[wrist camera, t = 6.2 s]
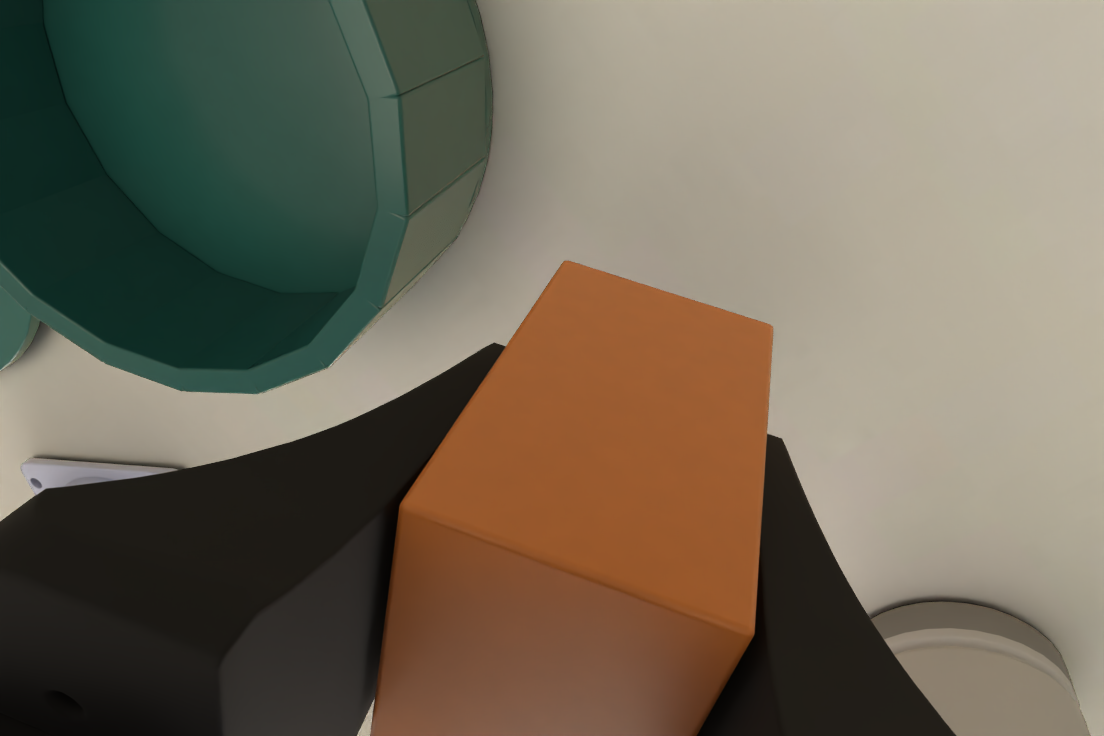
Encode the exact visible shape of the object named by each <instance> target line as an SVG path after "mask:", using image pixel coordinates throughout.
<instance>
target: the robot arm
mask: <svg viewBox="0 0 1104 736" xmlns="http://www.w3.org/2000/svg"><path fill="white" fill-rule="evenodd" d="M505 347H506V346H503V345H500V344H497V343H493V344H491V345H489V346H487V347H485V348H483V349H481V350H480V351H478V352H477V353H475V354H473V355H472V356H470V357H468V358H467V359H465V360H463V361H462V362H460V363H459V364H457V365H455V366H454V367H452V368H450V369H448V370H447V371H445V372H443V373H442V374H440V375H438V376H437V377H435V378H433V379H431V380H429V381H427V382H426V383H424V384H422V385H420V386H418V387H417V388H415V389H413V390H411V391H409V392H408V393H406V394H404V395H402V396H400V397H398V398H396V399H394V400H392V401H390V402H388V403H386V404H384V405H381V406H379V407H377V408H375V409H373V410H371V411H369V412H367V413H365V414H363V415H361V416H358V417H356V418H354V419H352V420H349V421H347V422H344V423H342V424H340V425H337V426H335V427H332V428H329V429H327V430H324V431H321V432H318V433H316V434H313V435H310V436H307V437H305V438H302V439H299V440H296V441H292V442H289V443H286V444H282V445H279V446H275V447H271V448H268V449H264V450H261V451H257V452H254V453H250V454H247V455H243V456H240V457H236V458H232V459H228V460H224V461H220V462H215V463H211V464H206V465H202V466H197V467H192V468H187V469H182V470H178V469H174V468H161V467H148V466H134V465H121V464H107V463H94V462H81V461H67V460H54V459H40V458H29V459H27V460H26V461H25V462H23V463H22V464H21V471H22V473H23V475H24V477H25V478H26V480H27V482H28V483H29V485H30V487H31V489H32V490H33V492H34V494H35V495H36V496H34V497H33V498H31V499H30V500H29V501H27V502H26V503H25V504H23V505H22V506H21V507H19V508H18V509H16V510H15V511H14V512H12V513H11V514H10V515H8V516H7V517H6V518H4V519H3V520H2V521H1V522H0V736H357V734H358V732H359V730H360V728H361V725H362V723H363V721H364V719H365V717H366V715H367V713H368V711H369V709H370V706H371V704H372V702H373V700H374V698H375V694H376V686H377V678H378V670H379V662H380V654H381V647H382V639H383V631H384V623H385V615H386V607H387V600H388V592H389V584H390V576H391V568H392V560H393V552H394V545H395V537H396V529H397V521H398V513H399V505H400V503H401V501H402V500H403V499H404V497H405V496H406V494H407V493H408V491H409V490H410V488H411V487H412V485H413V484H414V482H415V481H416V479H417V478H418V476H419V475H420V473H421V472H422V470H423V469H424V467H425V466H426V464H427V463H428V461H429V460H430V458H431V457H432V456H433V454H434V453H435V451H436V450H437V448H438V447H439V445H440V444H441V442H442V441H443V439H444V438H445V436H446V435H447V433H448V432H449V430H450V429H451V427H452V426H453V424H454V423H455V421H456V420H457V418H458V417H459V415H460V414H461V412H462V411H463V410H464V408H465V407H466V405H467V404H468V402H469V401H470V399H471V398H472V396H473V395H474V393H475V392H476V390H477V389H478V387H479V386H480V384H481V383H482V381H483V380H484V378H485V377H486V375H487V374H488V372H489V371H490V369H491V368H492V366H493V365H494V364H495V362H496V361H497V359H498V358H499V356H500V355H501V353H502V352H503V350H504V349H505ZM697 736H956V734H955V733H954V732H953V731H952V730H951V728H950V727H949V726H948V725H947V724H946V722H945V721H944V720H943V718H942V717H941V716H940V715H939V713H938V712H937V711H936V710H935V708H934V707H933V706H932V704H931V703H930V702H929V701H928V699H927V698H926V697H925V696H924V694H923V693H922V692H921V690H920V689H919V688H918V687H917V685H916V684H915V683H914V682H913V680H912V679H911V677H910V676H909V675H908V673H907V672H906V671H905V669H904V668H903V667H902V665H901V664H900V662H899V661H898V660H897V658H896V657H895V655H894V654H893V652H892V651H891V649H890V648H889V646H888V645H887V643H886V642H885V640H884V639H883V637H882V636H881V634H880V633H879V631H878V630H877V628H876V627H875V625H874V624H873V623H872V621H871V620H870V618H869V616H868V615H867V613H866V612H865V610H864V608H863V607H862V605H861V604H860V602H859V600H858V599H857V597H856V595H855V593H854V592H853V590H852V588H851V586H850V585H849V583H848V581H847V579H846V577H845V576H844V574H843V572H842V570H841V568H840V567H839V565H838V563H837V561H836V559H835V557H834V555H833V553H832V551H831V549H830V547H829V545H828V543H827V541H826V539H825V537H824V534H823V532H822V530H821V528H820V526H819V524H818V522H817V520H816V518H815V515H814V513H813V511H812V509H811V507H810V504H809V502H808V500H807V497H806V495H805V493H804V490H803V488H802V486H801V483H800V481H799V478H798V476H797V473H796V471H795V468H794V466H793V464H792V461H791V459H790V456H789V454H788V451H787V449H786V446H785V444H784V442H783V440H782V439H781V438H778V437H775V436H772V435H769V434H767V442H766V458H765V474H764V490H763V506H762V523H761V539H760V555H759V571H758V587H757V603H756V620H755V635H754V636H753V638H752V640H751V642H750V643H749V645H748V647H747V649H746V650H745V652H744V654H743V656H742V657H741V659H740V661H739V663H738V664H737V666H736V668H735V670H734V671H733V673H732V675H731V677H730V678H729V680H728V682H727V684H726V685H725V687H724V689H723V691H722V692H721V694H720V696H719V698H718V699H717V701H716V703H715V705H714V706H713V708H712V710H711V712H710V713H709V715H708V717H707V719H706V720H705V722H704V724H703V726H702V727H701V729H700V731H699V733H698V734H697Z"/></svg>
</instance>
